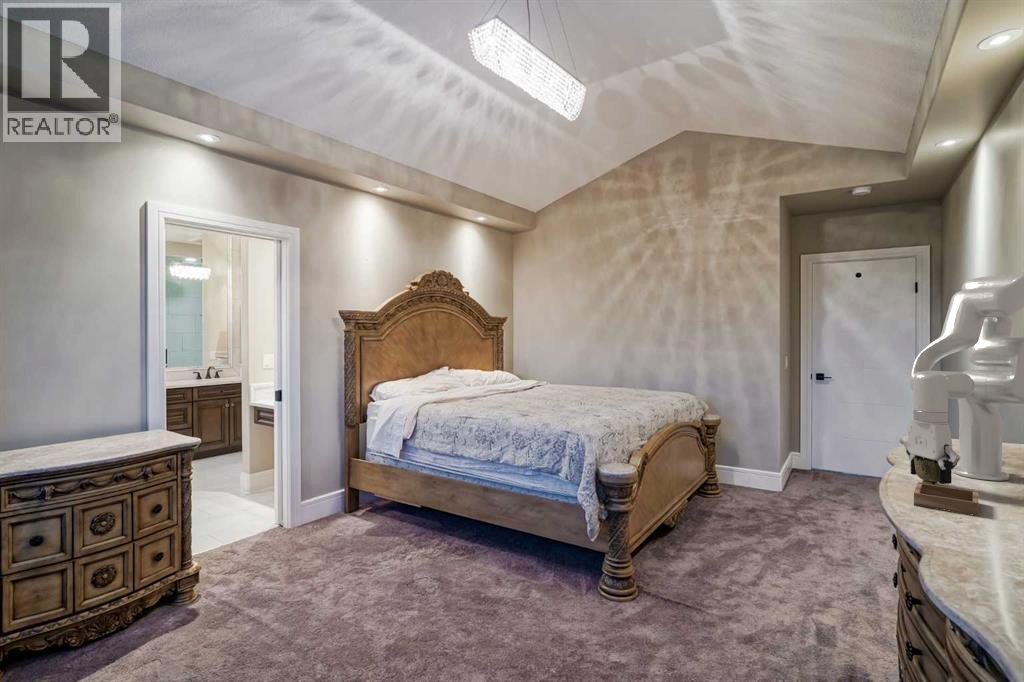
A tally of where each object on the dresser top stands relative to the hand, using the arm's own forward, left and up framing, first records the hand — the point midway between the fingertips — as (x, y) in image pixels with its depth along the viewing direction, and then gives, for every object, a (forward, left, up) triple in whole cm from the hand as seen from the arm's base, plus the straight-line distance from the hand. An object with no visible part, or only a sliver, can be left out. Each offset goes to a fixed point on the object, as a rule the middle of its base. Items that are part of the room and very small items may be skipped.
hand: (930, 478), depth 144 cm
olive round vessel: (0, 0, -2) cm, 2 cm away
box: (+13, +11, -2) cm, 17 cm away
